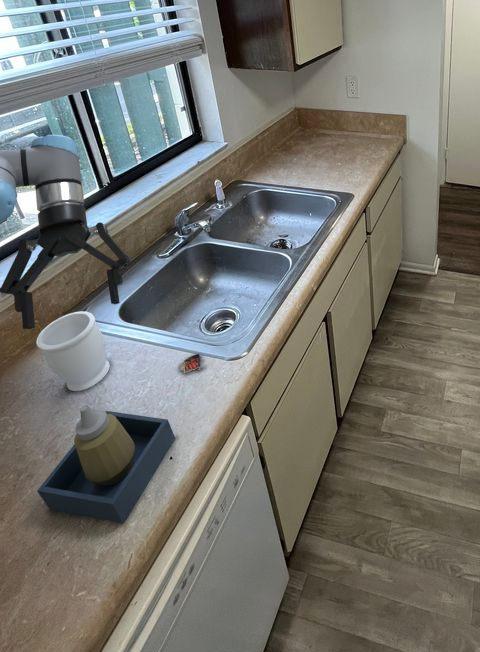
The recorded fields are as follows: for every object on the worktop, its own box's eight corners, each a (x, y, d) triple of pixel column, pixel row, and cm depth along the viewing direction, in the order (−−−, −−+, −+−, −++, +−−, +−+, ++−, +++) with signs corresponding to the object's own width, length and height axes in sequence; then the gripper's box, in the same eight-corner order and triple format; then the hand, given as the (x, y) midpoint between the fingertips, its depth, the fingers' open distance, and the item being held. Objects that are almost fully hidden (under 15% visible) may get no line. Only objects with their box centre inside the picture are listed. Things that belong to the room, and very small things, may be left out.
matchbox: (198, 353, 107) (198, 351, 106) (205, 366, 103) (204, 365, 103) (178, 363, 104) (177, 362, 104) (184, 378, 100) (184, 377, 100)
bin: (49, 510, 77) (36, 490, 75) (111, 429, 90) (101, 409, 88) (123, 523, 75) (112, 504, 73) (175, 438, 88) (168, 419, 86)
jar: (83, 402, 96) (58, 354, 89) (50, 388, 99) (24, 341, 92) (125, 362, 105) (105, 316, 98) (93, 351, 108) (72, 306, 101)
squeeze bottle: (128, 439, 88) (99, 378, 80) (148, 464, 83) (119, 402, 75) (83, 475, 82) (47, 413, 74) (102, 504, 77) (66, 441, 70)
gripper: (136, 199, 96) (152, 295, 90) (-7, 229, 86) (0, 339, 80) (127, 189, 89) (143, 292, 83) (-29, 220, 79) (-23, 339, 74)
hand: (73, 315), depth 82 cm, fingers open, 13 cm apart
